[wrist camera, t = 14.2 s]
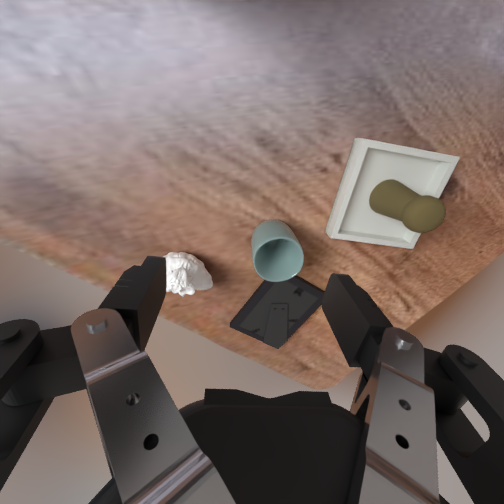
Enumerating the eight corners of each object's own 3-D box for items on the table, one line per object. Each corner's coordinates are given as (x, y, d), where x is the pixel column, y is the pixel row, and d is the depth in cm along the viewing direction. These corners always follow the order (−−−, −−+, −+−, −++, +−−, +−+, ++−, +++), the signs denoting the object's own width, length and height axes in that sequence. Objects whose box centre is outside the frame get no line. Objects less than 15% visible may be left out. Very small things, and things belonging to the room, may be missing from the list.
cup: (288, 209, 43) (301, 231, 34) (293, 248, 47) (307, 276, 38) (245, 219, 43) (247, 243, 35) (254, 256, 47) (258, 287, 38)
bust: (216, 265, 50) (226, 259, 39) (204, 302, 48) (212, 305, 38) (157, 246, 47) (150, 234, 37) (142, 284, 46) (131, 283, 35)
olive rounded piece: (373, 219, 44) (413, 246, 34) (364, 190, 41) (404, 210, 32) (407, 203, 43) (457, 226, 33) (399, 172, 40) (452, 187, 31)
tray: (355, 137, 38) (364, 138, 36) (445, 154, 40) (460, 157, 38) (324, 231, 45) (330, 237, 43) (402, 242, 48) (412, 248, 45)
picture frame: (277, 342, 59) (326, 290, 53) (278, 349, 57) (329, 297, 51) (229, 320, 55) (276, 262, 49) (229, 328, 53) (278, 268, 47)
